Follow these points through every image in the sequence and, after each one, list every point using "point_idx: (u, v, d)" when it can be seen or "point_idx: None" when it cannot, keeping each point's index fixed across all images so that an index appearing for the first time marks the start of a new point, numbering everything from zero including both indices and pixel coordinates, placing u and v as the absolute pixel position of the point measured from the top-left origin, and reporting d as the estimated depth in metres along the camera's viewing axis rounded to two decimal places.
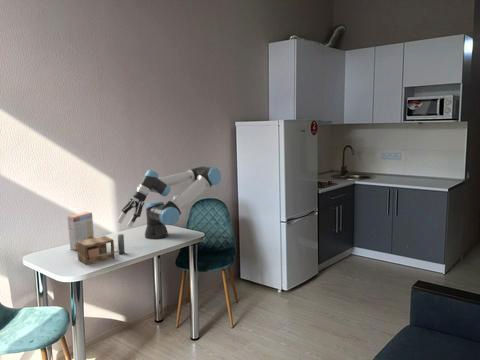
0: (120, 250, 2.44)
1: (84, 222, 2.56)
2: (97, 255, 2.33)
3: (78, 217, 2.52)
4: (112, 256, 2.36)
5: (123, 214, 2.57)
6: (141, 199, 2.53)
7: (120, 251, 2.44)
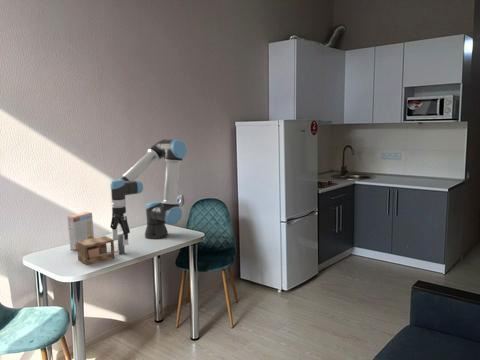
0: (120, 250, 2.44)
1: (84, 222, 2.56)
2: (97, 255, 2.33)
3: (78, 217, 2.53)
4: (112, 256, 2.36)
5: (114, 231, 2.48)
6: (122, 213, 2.39)
7: (120, 251, 2.44)
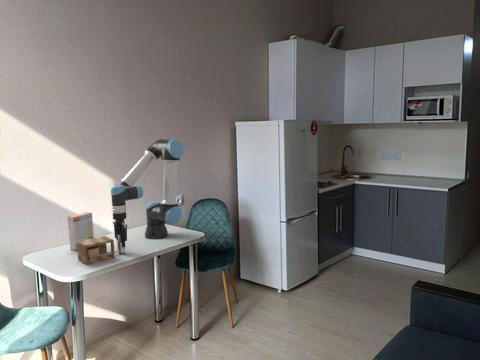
0: (120, 250, 2.44)
1: (84, 222, 2.56)
2: (97, 255, 2.33)
3: (78, 217, 2.53)
4: (112, 256, 2.36)
5: None
6: (122, 219, 2.40)
7: (120, 251, 2.44)
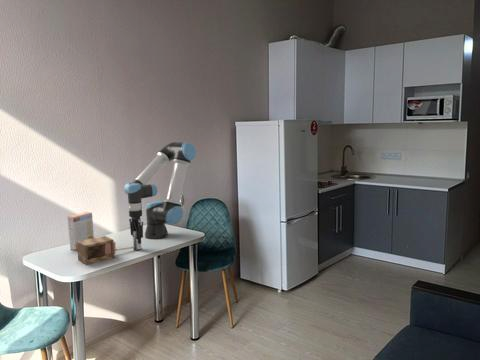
0: (135, 246, 2.50)
1: (84, 222, 2.56)
2: None
3: (78, 217, 2.53)
4: (112, 256, 2.36)
5: None
6: (138, 216, 2.47)
7: (135, 247, 2.50)
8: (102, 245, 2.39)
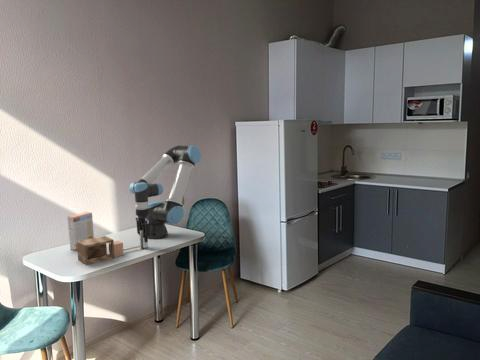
0: (142, 245, 2.53)
1: (84, 222, 2.56)
2: (121, 250, 2.42)
3: (78, 217, 2.53)
4: (112, 256, 2.36)
5: None
6: (145, 215, 2.49)
7: (142, 246, 2.53)
8: (110, 246, 2.42)
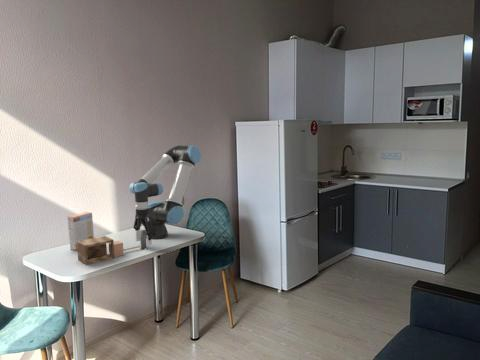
0: (142, 245, 2.53)
1: (84, 222, 2.56)
2: (121, 250, 2.42)
3: (78, 217, 2.53)
4: (112, 256, 2.36)
5: (137, 232, 2.58)
6: (145, 215, 2.49)
7: (142, 246, 2.53)
8: (110, 246, 2.42)
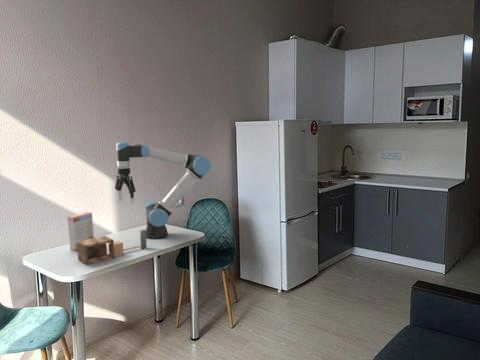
0: (142, 245, 2.53)
1: (84, 222, 2.56)
2: (121, 250, 2.42)
3: (78, 217, 2.52)
4: (112, 256, 2.36)
5: (119, 192, 2.64)
6: (127, 174, 2.55)
7: (142, 246, 2.53)
8: (110, 246, 2.42)
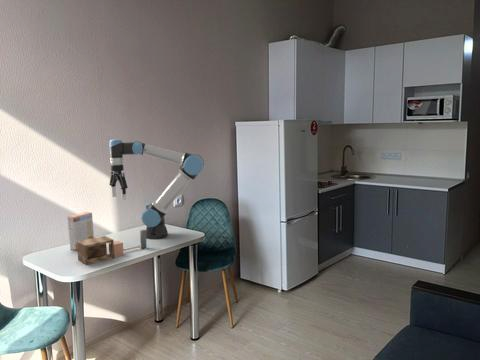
0: (142, 245, 2.53)
1: (84, 222, 2.56)
2: (121, 250, 2.42)
3: (78, 217, 2.53)
4: (112, 256, 2.36)
5: (113, 188, 2.68)
6: (120, 170, 2.59)
7: (142, 246, 2.53)
8: (110, 246, 2.42)
